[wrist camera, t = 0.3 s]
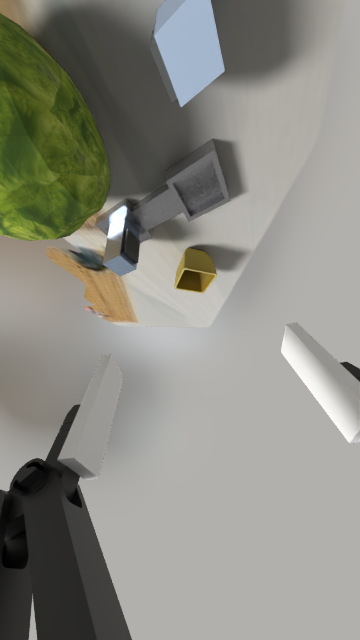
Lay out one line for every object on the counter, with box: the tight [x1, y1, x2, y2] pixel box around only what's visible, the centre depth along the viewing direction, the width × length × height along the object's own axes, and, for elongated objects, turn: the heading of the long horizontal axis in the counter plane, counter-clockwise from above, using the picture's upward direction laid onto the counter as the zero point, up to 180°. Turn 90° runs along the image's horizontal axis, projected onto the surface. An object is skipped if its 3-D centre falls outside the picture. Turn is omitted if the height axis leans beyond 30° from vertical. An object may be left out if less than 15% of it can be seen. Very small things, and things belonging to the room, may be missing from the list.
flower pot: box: [175, 248, 217, 293], centre depth 49 cm, size 9×9×9 cm
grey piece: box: [95, 139, 230, 276], centre depth 35 cm, size 9×27×12 cm, turn 119°
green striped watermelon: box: [0, 14, 110, 241], centre depth 23 cm, size 19×23×18 cm
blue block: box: [150, 0, 225, 107], centre depth 18 cm, size 4×5×10 cm
